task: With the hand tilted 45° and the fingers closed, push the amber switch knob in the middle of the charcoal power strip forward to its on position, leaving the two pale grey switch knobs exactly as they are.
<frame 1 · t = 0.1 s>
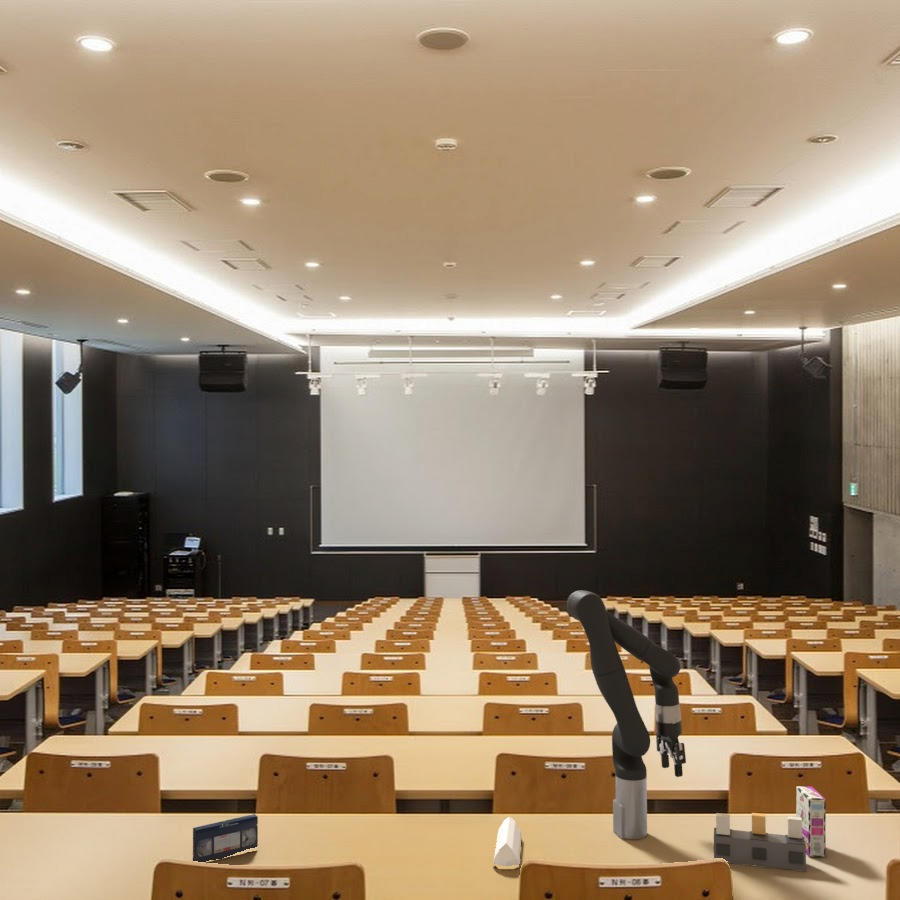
hand: (672, 771, 285), 17 cm above the table, tool pointing down, fingers open, 8 cm apart
switch middle: (758, 823, 262), point 10 cm above the table, slide at 0.0 cm
power strip: (759, 861, 261), on the table
switch right: (794, 827, 260), point 10 cm above the table, slide at 0.0 cm
candy bar box: (811, 850, 269), on the table
crystal: (507, 855, 267), on the table
vhs cassette tape: (225, 857, 266), on the table
switch left: (723, 824, 262), point 10 cm above the table, slide at 3.0 cm
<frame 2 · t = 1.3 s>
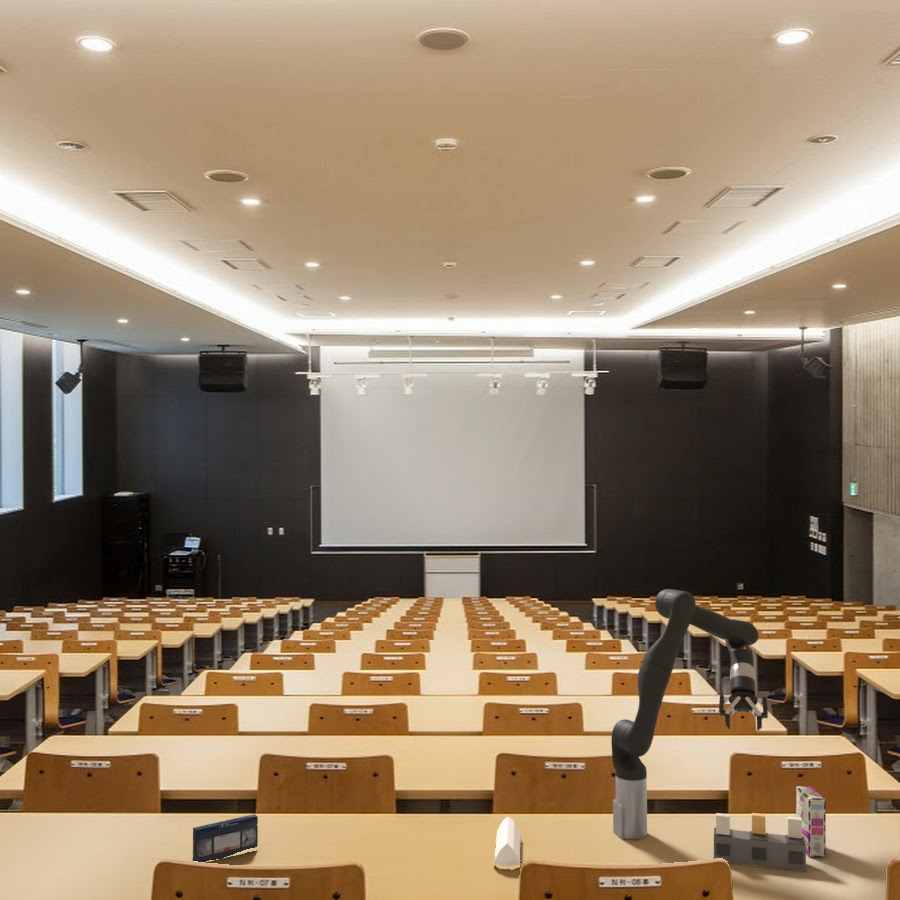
hand: (743, 728, 282), 31 cm above the table, tool tilted 45°, fingers open, 8 cm apart
nothing on the table moved.
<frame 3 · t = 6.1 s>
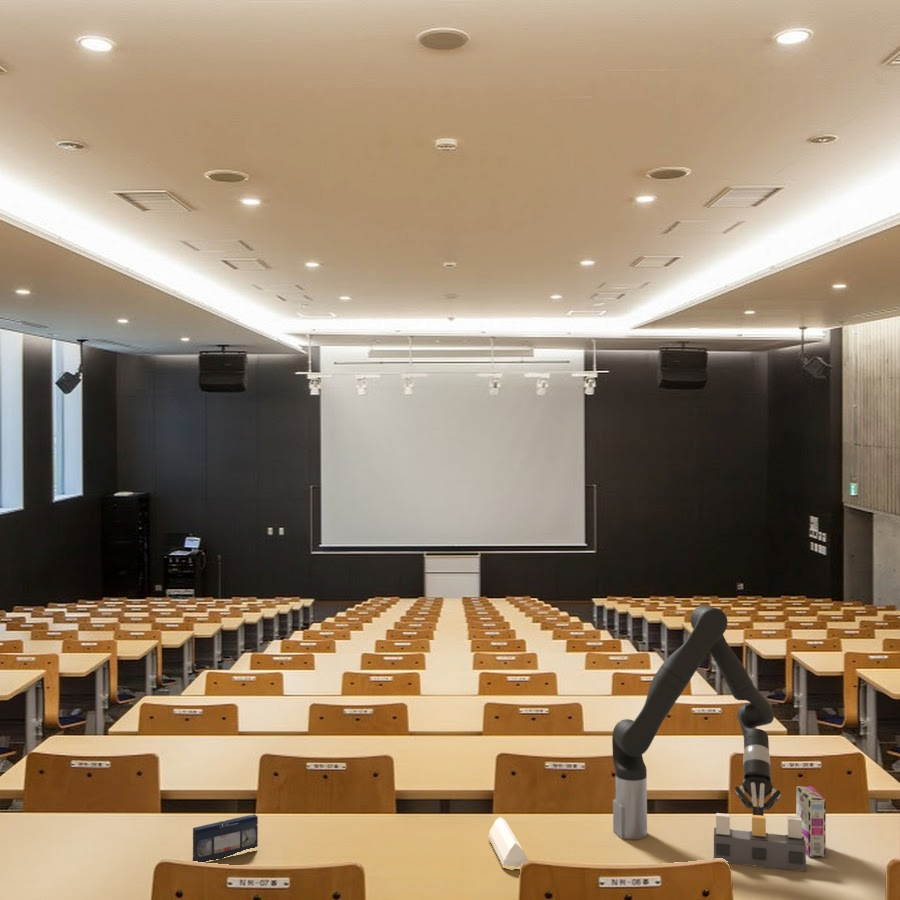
hand: (758, 822, 262), 10 cm above the table, tool tilted 45°, fingers closed
switch middle: (758, 825, 261), point 10 cm above the table, slide at 1.6 cm, touching gripper
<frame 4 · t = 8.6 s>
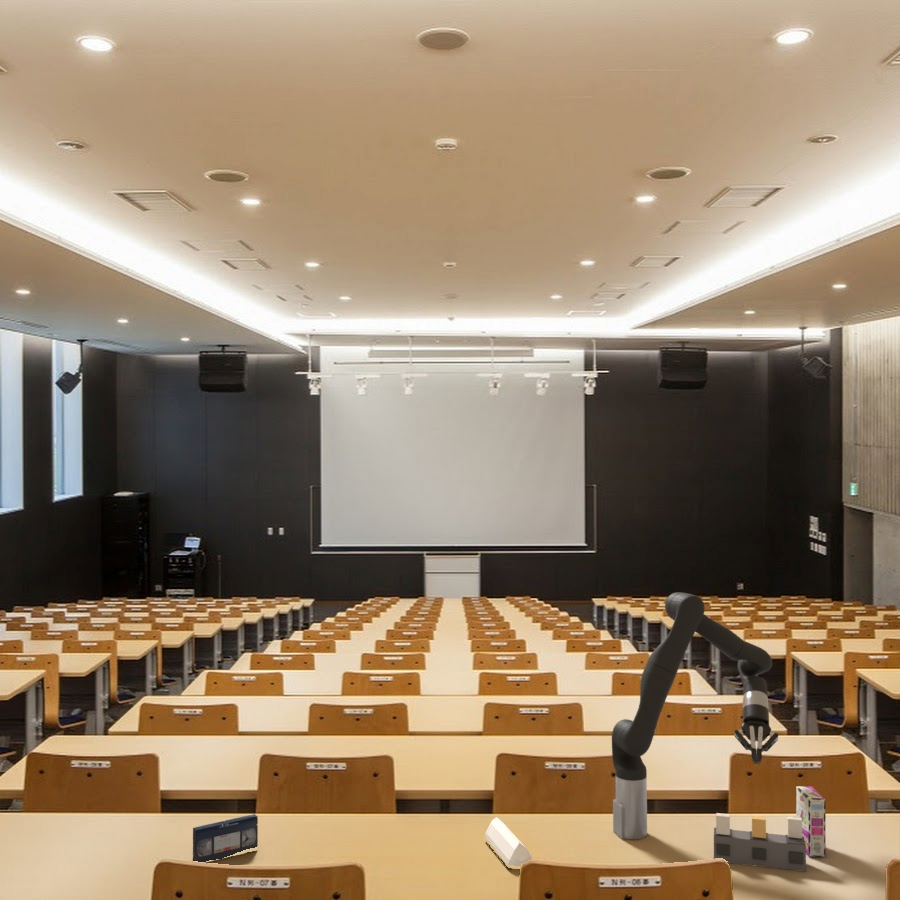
hand: (756, 762, 273), 24 cm above the table, tool tilted 45°, fingers closed
switch middle: (758, 827, 260), point 10 cm above the table, slide at 2.6 cm
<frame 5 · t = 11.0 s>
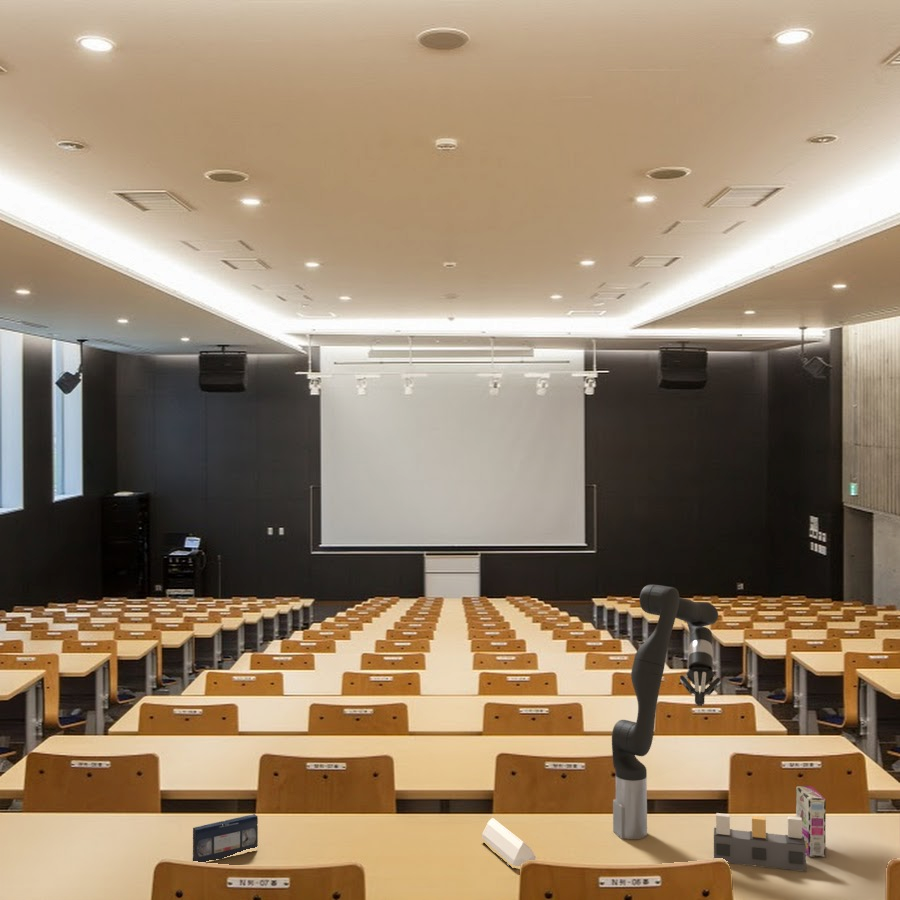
hand: (699, 704, 292), 36 cm above the table, tool tilted 45°, fingers closed
at the end: switch middle slide at 2.6 cm; switch left slide at 3.0 cm; switch right slide at 0.0 cm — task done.
